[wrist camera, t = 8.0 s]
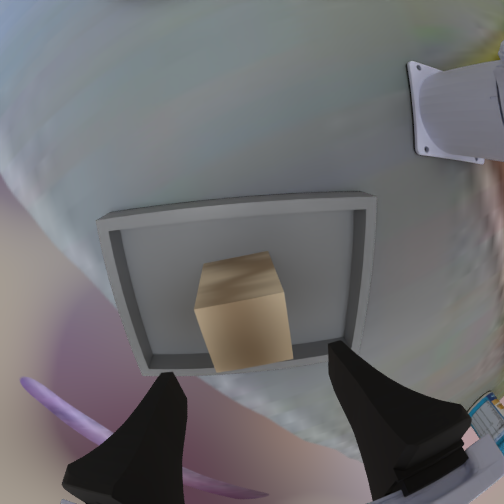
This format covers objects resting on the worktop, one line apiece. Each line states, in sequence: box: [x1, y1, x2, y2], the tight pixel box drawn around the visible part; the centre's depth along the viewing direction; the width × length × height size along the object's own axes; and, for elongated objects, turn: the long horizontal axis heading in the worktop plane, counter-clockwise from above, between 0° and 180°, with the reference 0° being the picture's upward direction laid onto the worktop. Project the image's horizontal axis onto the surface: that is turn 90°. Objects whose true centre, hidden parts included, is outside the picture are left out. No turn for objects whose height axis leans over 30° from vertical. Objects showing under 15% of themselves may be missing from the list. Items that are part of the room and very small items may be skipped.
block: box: [194, 251, 293, 373], centre depth 17 cm, size 4×4×6 cm
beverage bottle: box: [468, 392, 504, 456], centre depth 26 cm, size 8×8×20 cm
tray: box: [96, 191, 377, 376], centre depth 19 cm, size 18×13×2 cm
